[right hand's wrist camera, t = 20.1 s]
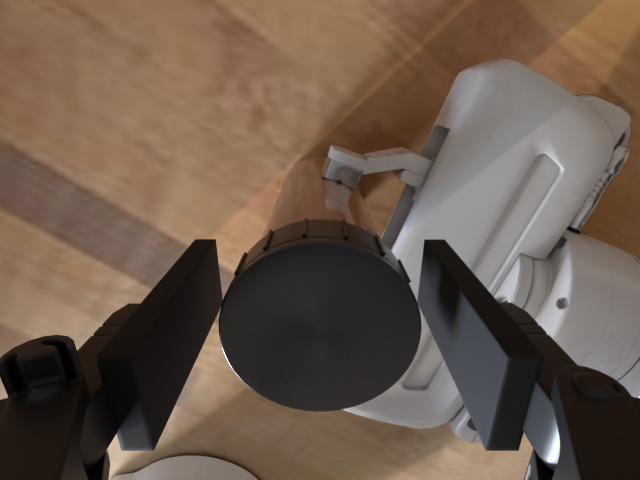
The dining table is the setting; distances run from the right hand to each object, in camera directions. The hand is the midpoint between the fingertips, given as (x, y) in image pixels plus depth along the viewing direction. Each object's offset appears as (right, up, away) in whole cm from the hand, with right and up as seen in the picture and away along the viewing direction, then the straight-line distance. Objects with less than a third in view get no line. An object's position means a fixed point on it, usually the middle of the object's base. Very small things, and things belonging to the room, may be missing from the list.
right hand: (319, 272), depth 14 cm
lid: (0, -1, -3) cm, 4 cm away
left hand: (-1, +2, +5) cm, 6 cm away
